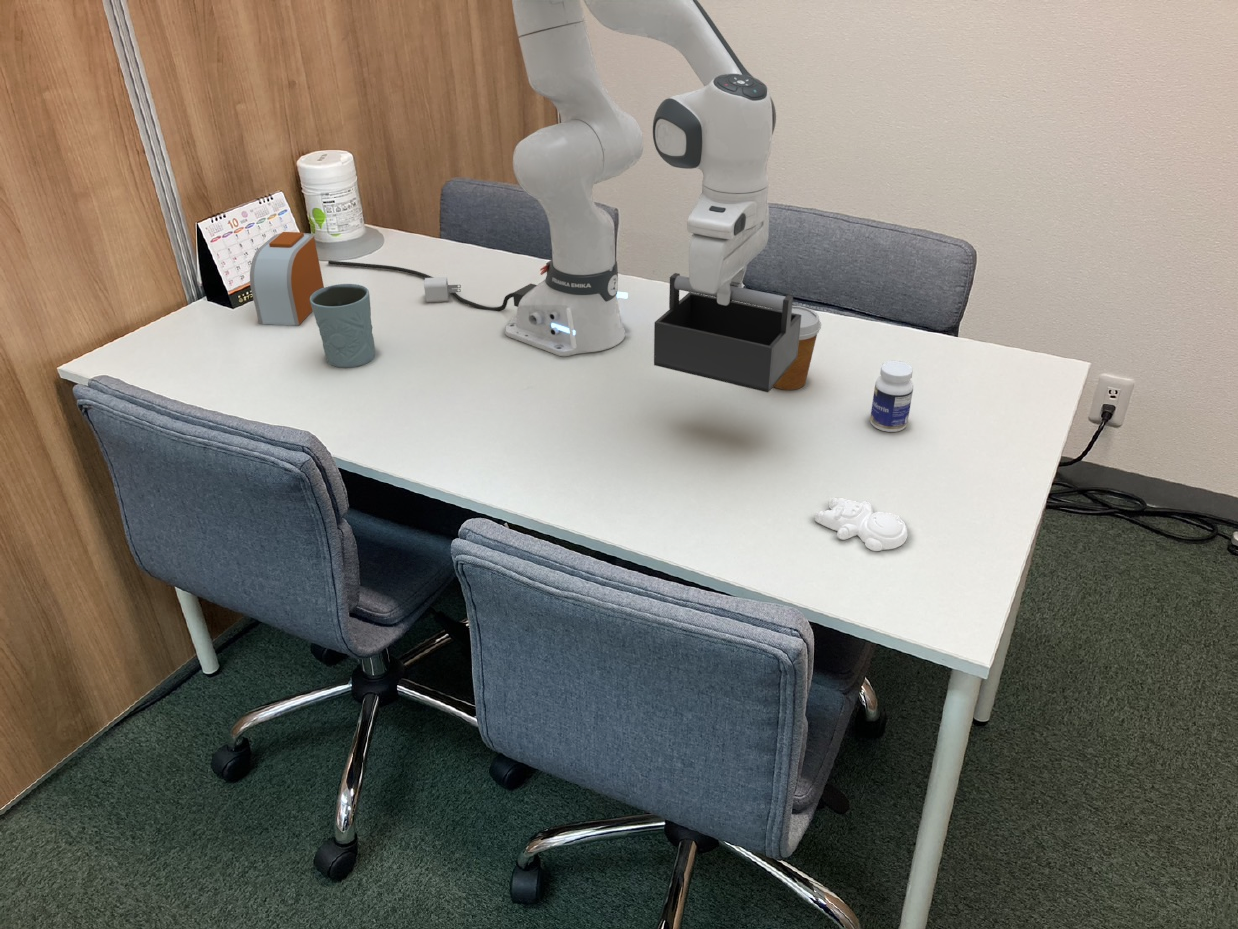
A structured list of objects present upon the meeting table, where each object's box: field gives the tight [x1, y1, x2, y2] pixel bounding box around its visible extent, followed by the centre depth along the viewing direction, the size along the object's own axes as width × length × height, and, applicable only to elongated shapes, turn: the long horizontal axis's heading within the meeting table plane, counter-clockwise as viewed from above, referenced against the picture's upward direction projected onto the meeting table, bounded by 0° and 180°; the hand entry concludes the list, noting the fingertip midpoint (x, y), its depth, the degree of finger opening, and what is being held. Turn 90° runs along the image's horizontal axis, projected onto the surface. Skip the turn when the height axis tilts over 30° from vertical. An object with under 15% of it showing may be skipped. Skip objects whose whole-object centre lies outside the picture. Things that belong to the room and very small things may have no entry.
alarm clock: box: [249, 231, 325, 327], centre depth 191 cm, size 15×8×14 cm, turn 172°
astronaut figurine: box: [814, 497, 908, 552], centre depth 132 cm, size 9×12×3 cm
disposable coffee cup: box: [773, 305, 822, 391], centre depth 164 cm, size 10×10×12 cm
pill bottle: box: [869, 360, 914, 433], centre depth 153 cm, size 6×6×10 cm
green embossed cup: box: [310, 283, 376, 369], centre depth 174 cm, size 10×10×12 cm
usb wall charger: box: [423, 276, 462, 303], centre depth 197 cm, size 4×7×4 cm, turn 96°
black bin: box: [653, 272, 801, 393], centre depth 144 cm, size 18×12×12 cm, turn 62°
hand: (729, 298), depth 141 cm, fingers closed on black bin
